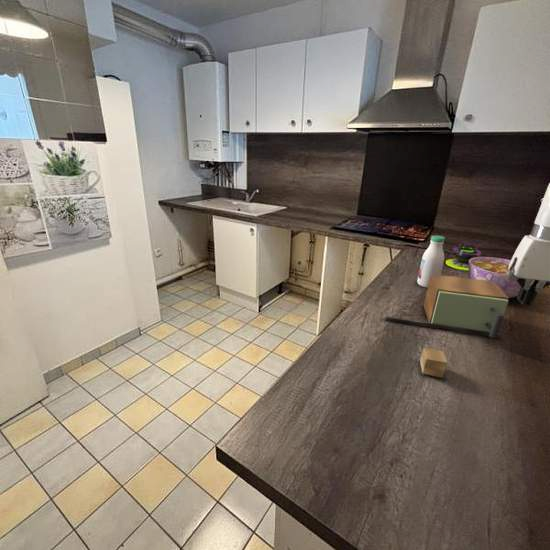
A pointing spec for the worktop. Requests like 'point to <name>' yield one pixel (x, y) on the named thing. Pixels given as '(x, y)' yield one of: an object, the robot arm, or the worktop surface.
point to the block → (433, 362)
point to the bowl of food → (494, 273)
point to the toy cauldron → (462, 258)
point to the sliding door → (469, 312)
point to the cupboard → (454, 286)
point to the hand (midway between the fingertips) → (523, 302)
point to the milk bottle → (431, 261)
